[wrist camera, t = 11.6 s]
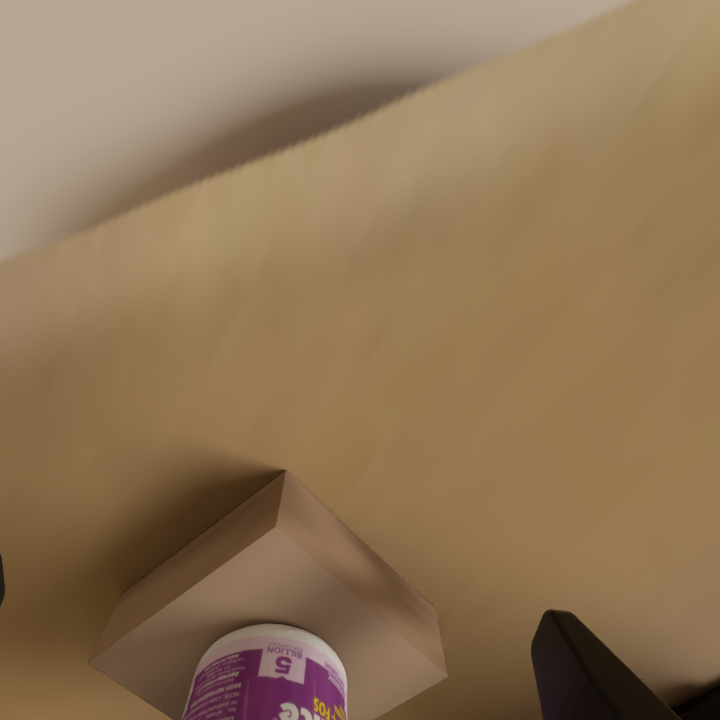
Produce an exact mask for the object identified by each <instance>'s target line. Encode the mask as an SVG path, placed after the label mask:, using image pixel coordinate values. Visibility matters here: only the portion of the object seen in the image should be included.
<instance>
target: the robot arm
mask: <svg viewBox="0 0 720 720" xmlns="http://www.w3.org/2000/svg"><path fill="white" fill-rule="evenodd" d="M4 595H5V583H4V574H3V565H2V557H1V554H0V606H1V604H2V601H3V598H4ZM531 657H532V662H533V668H534V673H535V678H536V683H537V689H538V694H539V699H540V704H541V710H542V715H543V720H720V689H718V690H716V691H714V692H712V693H710V694H708V695H706V696H704V697H702V698H700V699H698V700H696V701H694V702H692V703H690V704H688V705H686V706H684V707H682V708H680V709H678V710H676V711H674V712H673V711H672V710H671V709H670V708H669V707H668V706H667V705H666V704H665V703H664V702H663V701H662V700H661V699H660V698H659V697H658V696H657V695H656V694H655V693H654V692H653V691H652V690H651V689H650V688H649V687H648V686H647V685H645V684H644V683H643V682H642V681H641V680H640V679H639V678H638V677H637V676H636V675H635V674H634V673H633V672H632V671H631V670H630V669H629V668H628V667H627V666H626V665H625V664H624V663H623V662H622V661H621V660H620V659H619V658H618V657H617V656H616V655H615V654H614V653H613V652H612V651H611V650H610V649H609V648H608V647H607V646H606V645H605V644H604V643H603V642H602V641H600V640H599V639H598V638H597V637H596V636H595V635H594V634H593V633H592V632H591V631H590V630H589V629H588V628H587V627H586V626H585V625H584V624H583V623H582V622H581V621H580V620H579V619H578V618H577V617H576V616H575V615H574V614H572V613H571V612H568V611H562V610H552V609H549V610H547V611H546V612H544V614H543V616H542V619H541V621H540V624H539V626H538V629H537V631H536V633H535V636H534V638H533V641H532V646H531Z"/></svg>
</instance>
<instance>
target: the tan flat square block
mask: <svg viewBox="0 0 720 720" xmlns="http://www.w3.org/2000/svg"><path fill="white" fill-rule="evenodd" d="M259 624H282V625H287V626H291V627H295V628H299V629H303V630H305V631H308V632H310V633H312V634H314V635H316V636H317V637H319V638H321V639H322V640H323V641H324V642H325V643H327V644H328V645H329V646H330V647H331V648H332V649H333V651H334V652H335V653H336V654H337V656H338V658H339V660H340V661H341V663H342V665H343V667H344V670H345V673H346V678H347V720H374V719H376V718H378V717H380V716H381V715H383V714H385V713H387V712H388V711H390V710H392V709H393V708H395V707H397V706H399V705H400V704H402V703H404V702H406V701H407V700H409V699H411V698H412V697H414V696H416V695H418V694H419V693H421V692H423V691H425V690H426V689H428V688H430V687H432V686H433V685H435V684H437V683H438V682H440V681H442V680H444V679H445V678H447V677H448V673H447V668H446V663H445V657H444V652H443V647H442V642H441V636H440V631H439V626H438V620H437V615H436V610H435V608H434V607H433V606H431V605H430V604H429V603H428V602H427V601H426V600H425V599H424V598H423V597H422V596H421V595H420V594H419V593H417V592H416V591H415V590H414V589H413V588H412V587H411V586H410V585H409V584H408V583H407V582H406V581H405V580H403V579H402V578H401V577H400V576H399V575H398V574H397V573H396V572H395V571H394V570H393V569H392V568H391V567H389V566H388V565H387V564H386V563H385V562H384V561H383V560H382V559H381V558H380V557H379V556H378V555H377V554H375V553H374V552H373V551H372V550H371V549H370V548H369V547H368V546H367V545H366V544H365V543H364V542H363V541H361V540H360V539H359V538H358V537H357V536H356V535H355V534H354V533H353V532H352V531H351V530H350V529H349V528H347V527H346V526H345V525H344V524H343V523H342V522H341V521H340V520H339V519H338V518H337V517H336V516H335V515H333V514H332V513H331V512H330V511H329V510H328V509H327V508H326V507H325V506H324V505H323V504H322V503H321V502H319V501H318V500H317V499H316V498H315V497H314V496H313V495H312V494H311V493H310V492H309V491H308V490H307V489H306V488H304V487H303V486H302V485H301V484H300V483H299V482H298V481H297V480H296V479H295V478H294V477H293V476H292V475H290V474H289V473H288V472H287V471H285V472H283V473H282V474H281V475H279V476H278V477H277V478H275V479H274V480H273V481H271V482H270V483H269V484H267V485H266V486H265V487H263V488H262V489H261V490H259V491H258V492H257V493H255V494H254V495H253V496H252V497H250V498H249V499H248V500H246V501H245V502H244V503H242V504H241V505H240V506H238V507H237V508H236V509H234V510H233V511H232V512H230V513H229V514H228V515H226V516H225V517H224V518H222V519H221V520H220V521H218V522H217V523H216V524H214V525H213V526H212V527H210V528H209V529H208V530H206V531H205V532H204V533H202V534H201V535H200V536H198V537H197V538H196V539H194V540H193V541H192V542H191V543H189V544H188V545H187V546H185V547H184V548H183V549H181V550H180V551H179V552H177V553H176V554H175V555H173V556H172V557H171V558H169V559H168V560H167V561H165V562H164V563H163V564H161V565H160V566H159V567H157V568H156V569H155V570H153V571H152V572H151V573H149V574H148V575H147V576H145V577H144V578H143V579H141V580H140V581H139V582H137V583H136V584H135V585H134V586H132V587H131V588H130V589H128V590H127V591H126V592H124V593H123V594H122V595H121V596H120V598H119V600H118V602H117V604H116V606H115V608H114V610H113V612H112V614H111V616H110V618H109V620H108V622H107V624H106V626H105V628H104V630H103V632H102V635H101V637H100V639H99V641H98V643H97V645H96V647H95V649H94V651H93V653H92V655H91V657H90V659H89V661H88V664H89V665H91V666H92V667H94V668H96V669H97V670H99V671H100V672H102V673H103V674H105V675H106V676H108V677H109V678H111V679H112V680H114V681H115V682H117V683H118V684H120V685H121V686H123V687H125V688H126V689H128V690H129V691H131V692H132V693H134V694H135V695H137V696H138V697H140V698H141V699H143V700H144V701H146V702H147V703H149V704H150V705H152V706H154V707H155V708H157V709H158V710H160V711H161V712H163V713H164V714H166V715H167V716H169V717H170V718H172V719H173V720H181V719H182V715H183V712H184V709H185V705H186V702H187V699H188V695H189V691H190V688H191V685H192V681H193V678H194V675H195V672H196V669H197V667H198V665H199V662H200V660H201V659H202V657H203V655H204V654H205V653H206V651H207V650H208V649H209V648H210V647H211V646H212V645H213V643H215V642H216V641H217V640H219V639H220V638H222V637H223V636H225V635H227V634H229V633H231V632H233V631H235V630H238V629H242V628H245V627H247V626H252V625H259Z"/></svg>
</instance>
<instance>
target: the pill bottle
mask: <svg viewBox="0 0 720 720" xmlns="http://www.w3.org/2000/svg"><path fill="white" fill-rule="evenodd" d="M181 720H347V678H346V673H345V670H344V667H343V665H342V663H341V661H340V660H339V658H338V656H337V654H336V653H335V652H334V651H333V649H332V648H331V647H330V646H329V645H328V644H327V643H325V642H324V641H323V640H322V639H321V638H319V637H317V636H316V635H314V634H312V633H310V632H308V631H305V630H303V629H299V628H295V627H291V626H287V625H282V624H259V625H252V626H247V627H245V628H242V629H238V630H235V631H233V632H231V633H229V634H227V635H225V636H223V637H222V638H220V639H219V640H217V641H216V642H215V643H213V645H212V646H211V647H210V648H209V649H208V650H207V651H206V653H205V654H204V655H203V657H202V659H201V660H200V662H199V665H198V667H197V669H196V672H195V675H194V678H193V681H192V685H191V688H190V691H189V695H188V699H187V702H186V705H185V709H184V712H183V715H182V719H181Z"/></svg>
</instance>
